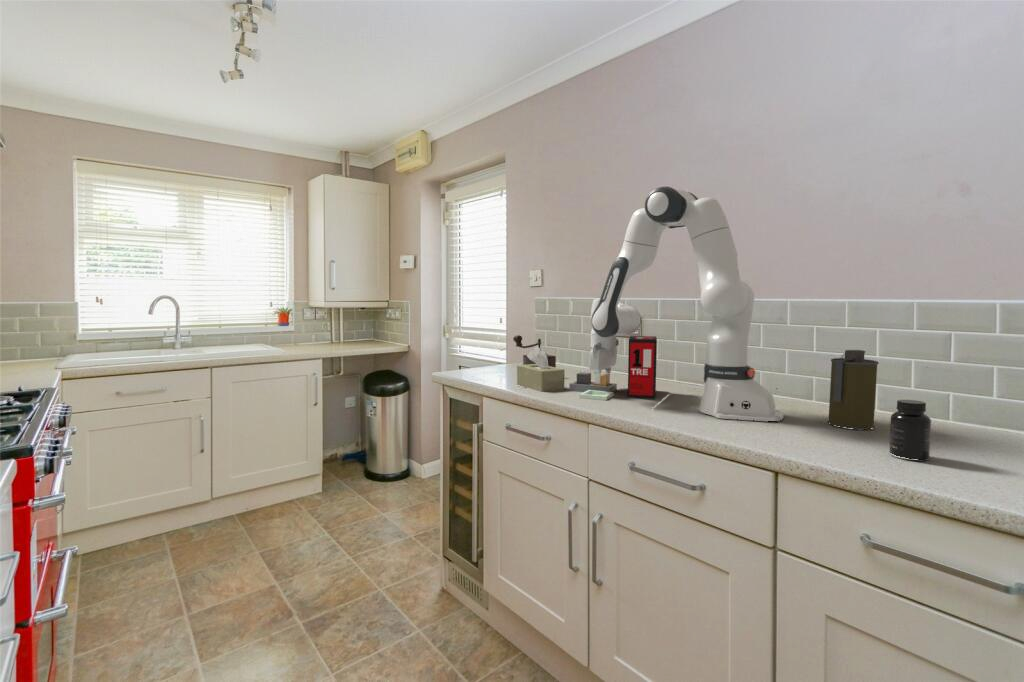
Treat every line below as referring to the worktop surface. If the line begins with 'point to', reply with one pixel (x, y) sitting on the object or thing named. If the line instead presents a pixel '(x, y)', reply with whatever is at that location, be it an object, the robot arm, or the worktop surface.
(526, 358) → the pepper mill
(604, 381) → the orange plug
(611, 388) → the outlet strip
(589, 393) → the tray
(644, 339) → the cleaning product box
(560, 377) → the tissue box
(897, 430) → the supplement bottle
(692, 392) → the worktop surface
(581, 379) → the black plug
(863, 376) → the canister
